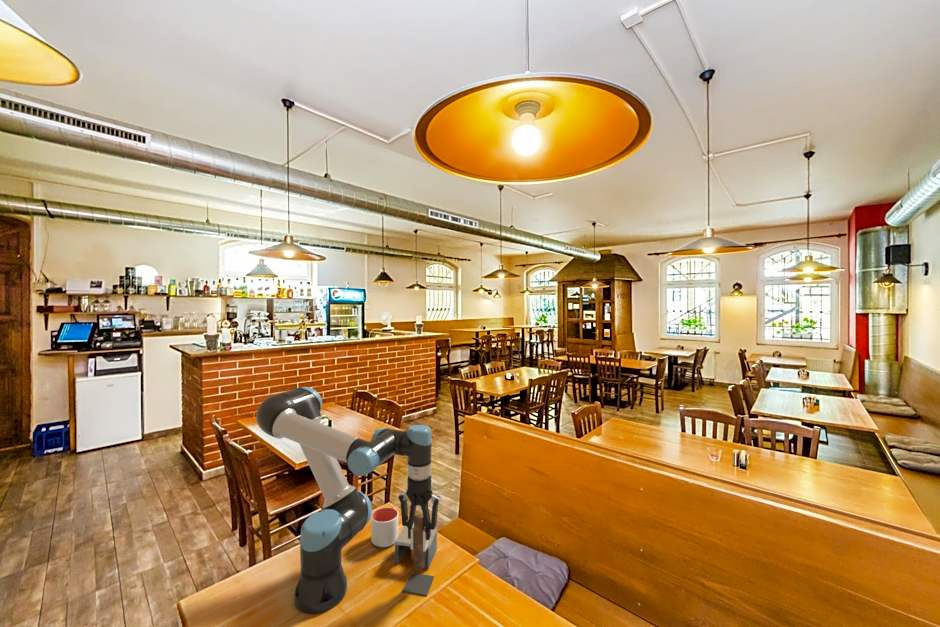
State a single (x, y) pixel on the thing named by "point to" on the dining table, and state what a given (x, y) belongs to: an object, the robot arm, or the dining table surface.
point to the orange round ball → (412, 554)
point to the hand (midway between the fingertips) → (419, 547)
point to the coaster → (418, 584)
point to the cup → (384, 527)
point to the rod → (419, 542)
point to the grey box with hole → (405, 542)
